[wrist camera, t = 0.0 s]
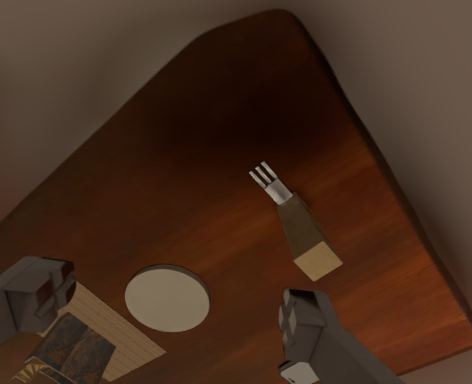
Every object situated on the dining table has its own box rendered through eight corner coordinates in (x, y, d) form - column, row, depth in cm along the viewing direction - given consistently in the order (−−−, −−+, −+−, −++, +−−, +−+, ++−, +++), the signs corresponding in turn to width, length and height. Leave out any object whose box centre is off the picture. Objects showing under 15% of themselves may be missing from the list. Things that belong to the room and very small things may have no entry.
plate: (165, 249, 36) (163, 253, 35) (227, 300, 40) (226, 306, 39) (111, 294, 40) (107, 299, 39) (172, 337, 44) (170, 343, 43)
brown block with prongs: (309, 207, 33) (343, 263, 22) (289, 221, 34) (313, 282, 23) (265, 157, 31) (280, 192, 20) (246, 173, 32) (249, 216, 20)
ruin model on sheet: (4, 311, 42) (-60, 370, 33) (61, 268, 38) (5, 322, 29) (109, 381, 50) (80, 445, 41) (166, 352, 46) (148, 415, 37)
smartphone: (364, 356, 44) (299, 390, 48) (361, 350, 45) (298, 384, 49) (343, 336, 42) (277, 373, 46) (340, 330, 43) (276, 367, 47)
